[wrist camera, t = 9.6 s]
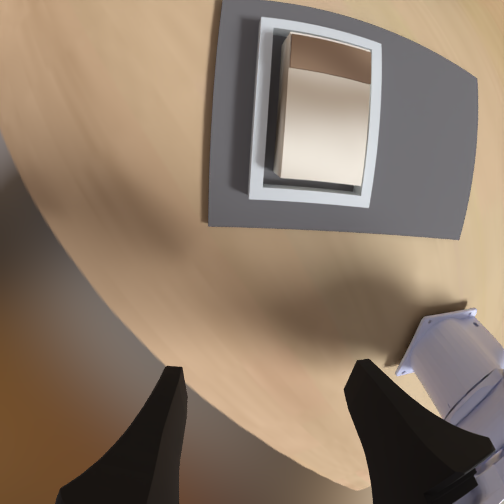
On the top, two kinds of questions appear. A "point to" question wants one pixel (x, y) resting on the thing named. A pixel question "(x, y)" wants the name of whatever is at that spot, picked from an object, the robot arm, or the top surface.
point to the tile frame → (260, 116)
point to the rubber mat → (389, 140)
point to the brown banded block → (322, 110)
